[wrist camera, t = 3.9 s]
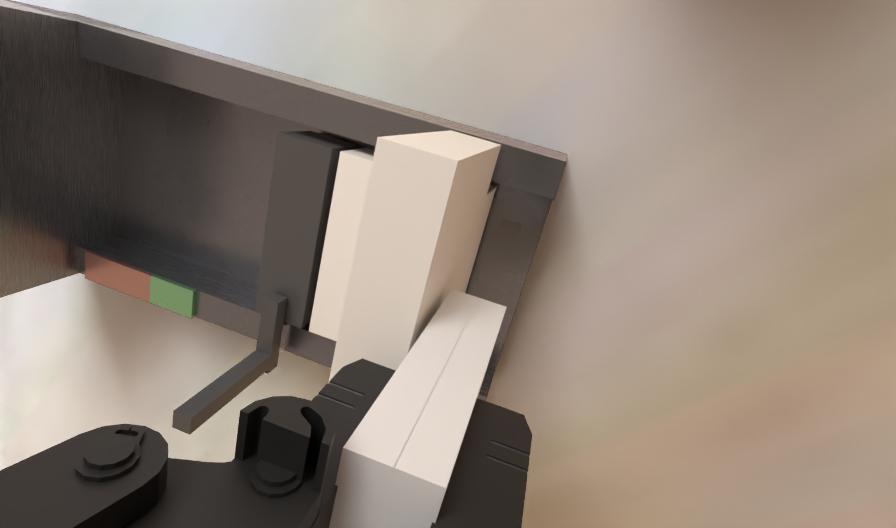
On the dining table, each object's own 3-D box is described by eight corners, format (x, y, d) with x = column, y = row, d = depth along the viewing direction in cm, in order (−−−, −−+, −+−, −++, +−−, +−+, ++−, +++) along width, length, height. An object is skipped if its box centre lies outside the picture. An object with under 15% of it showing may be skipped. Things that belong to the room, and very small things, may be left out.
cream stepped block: (510, 141, 16) (457, 160, 9) (438, 382, 20) (356, 548, 12) (375, 103, 17) (219, 90, 9) (329, 342, 20) (186, 474, 13)
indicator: (359, 145, 18) (239, 160, 11) (321, 345, 21) (209, 448, 14) (310, 130, 18) (166, 136, 12) (280, 330, 21) (152, 424, 14)
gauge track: (566, 154, 18) (565, 178, 10) (491, 377, 21) (450, 516, 14) (78, 14, 21) (-191, -43, 14) (80, 228, 24) (-135, 275, 17)
